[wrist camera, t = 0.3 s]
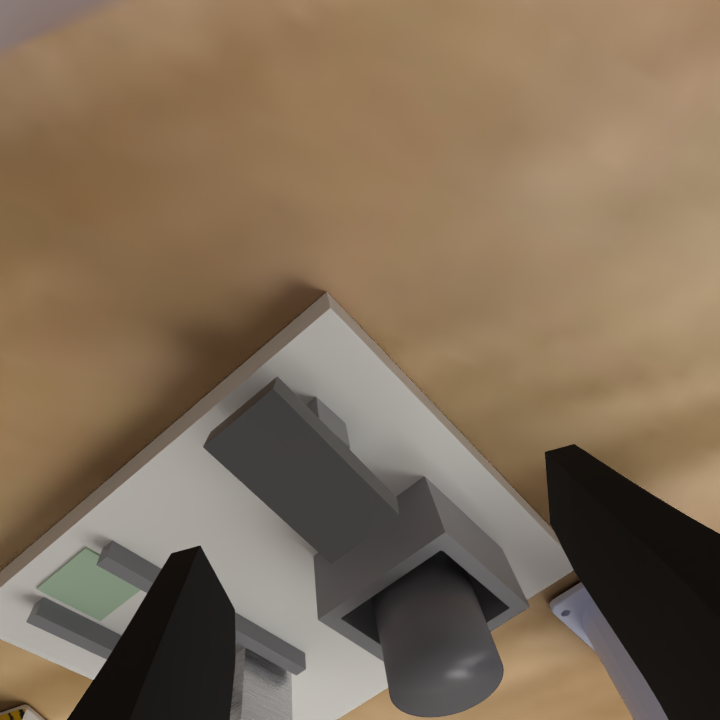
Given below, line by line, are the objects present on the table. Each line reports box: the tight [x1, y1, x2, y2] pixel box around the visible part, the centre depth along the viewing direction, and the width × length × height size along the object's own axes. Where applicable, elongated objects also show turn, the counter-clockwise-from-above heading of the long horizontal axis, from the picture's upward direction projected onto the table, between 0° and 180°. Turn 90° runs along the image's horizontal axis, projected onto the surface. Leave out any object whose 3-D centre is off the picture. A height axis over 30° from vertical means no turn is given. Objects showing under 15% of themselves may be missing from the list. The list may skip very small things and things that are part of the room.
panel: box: [0, 292, 574, 720], centre depth 22 cm, size 18×20×4 cm
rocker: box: [203, 376, 399, 564], centre depth 17 cm, size 6×3×1 cm, turn 40°
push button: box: [372, 551, 504, 717], centre depth 20 cm, size 4×4×4 cm
